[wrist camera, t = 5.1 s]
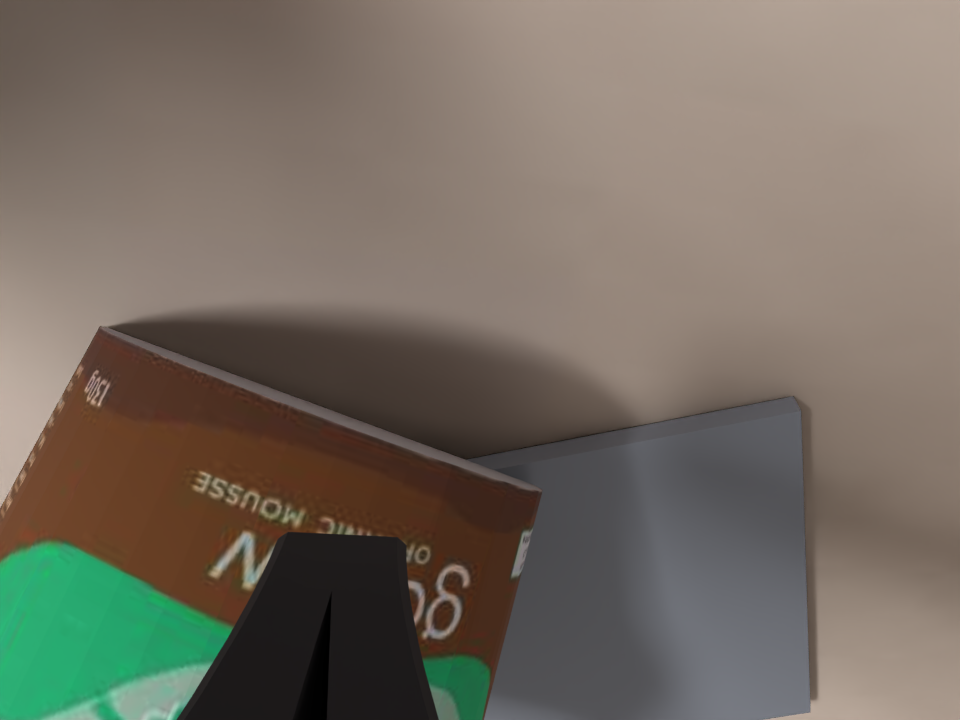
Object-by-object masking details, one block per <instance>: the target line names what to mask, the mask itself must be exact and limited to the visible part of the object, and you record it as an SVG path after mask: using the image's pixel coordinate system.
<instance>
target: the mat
mask: <svg viewBox="0 0 960 720" xmlns="http://www.w3.org/2000/svg"><path fill="white" fill-rule="evenodd" d="M467 460H468V461H470V462H473V463H476V464H478V465H481V466H484V467H487V468H489V469H492V470H495V471H497V472H500V473H503V474H505V475H508V476H511V477H514V478H516V479H519V480H522V481H524V482H527V483H530V484H532V485H534V486H536V487H538V488H540V489H542V490H543V491H542V495H541V499H540V503H539V507H538V511H537V514H536V518H535V522H534V526H533V530H532V534H531V538H530V542H529V546H528V550H527V553H526V557H525V561H524V565H523V569H522V573H521V577H520V581H519V585H518V589H517V592H516V596H515V600H514V604H513V608H512V612H511V616H510V620H509V624H508V627H507V631H506V635H505V639H504V643H503V647H502V651H501V655H500V659H499V663H498V666H497V670H496V674H495V678H494V682H493V686H492V690H491V694H490V698H489V701H488V705H487V709H486V713H485V717H484V720H763V719H770V718H776V717H783V716H789V715H796V714H802V713H809V712H810V682H809V649H808V617H807V585H806V553H805V520H804V488H803V456H802V423H801V410H800V408H799V406H798V404H797V402H796V400H795V398H794V396H793V397H787V398H782V399H777V400H772V401H767V402H762V403H756V404H751V405H746V406H741V407H736V408H731V409H725V410H720V411H715V412H710V413H705V414H700V415H694V416H689V417H684V418H679V419H674V420H669V421H663V422H658V423H653V424H648V425H643V426H638V427H632V428H627V429H622V430H617V431H612V432H607V433H601V434H596V435H591V436H586V437H581V438H576V439H570V440H565V441H560V442H555V443H550V444H545V445H539V446H534V447H529V448H524V449H519V450H514V451H508V452H503V453H498V454H493V455H488V456H483V457H477V458H472V459H467Z"/></svg>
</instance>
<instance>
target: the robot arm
mask: <svg viewBox="0 0 960 720" xmlns="http://www.w3.org/2000/svg"><path fill="white" fill-rule="evenodd" d="M406 551H407V545H406V544H405V543H404V542H403V541H401V540H400V539H399V538H398V537H387V536H366V535H345V534H324V533H303V532H287V533H285V534H284V535H282V536H281V537H280V538H278V540H277V542H276V544H275V547H274V549H273V552H272V554H271V556H270V558H269V561H268V563H267V565H266V567H265V569H264V571H263V573H262V575H261V577H260V579H259V581H258V583H257V585H256V587H255V589H254V591H253V593H252V595H251V597H250V599H249V601H248V602H247V604H246V606H245V608H244V610H243V612H242V613H241V615H240V617H239V619H238V620H237V622H236V624H235V626H234V628H233V629H232V631H231V633H230V635H229V636H228V638H227V640H226V642H225V643H224V645H223V646H222V648H221V650H220V651H219V653H218V655H217V656H216V658H215V659H214V661H213V663H212V664H211V666H210V668H209V669H208V671H207V672H206V674H205V676H204V677H203V679H202V681H201V682H200V684H199V685H198V687H197V689H196V690H195V692H194V694H193V695H192V697H191V698H190V700H189V701H188V703H187V705H186V706H185V708H184V709H183V711H182V712H181V714H180V715H179V717H178V718H177V720H439V718H438V715H437V711H436V708H435V704H434V700H433V697H432V693H431V690H430V686H429V682H428V679H427V675H426V672H425V668H424V664H423V659H422V655H421V651H420V647H419V642H418V637H417V632H416V627H415V622H414V617H413V612H412V606H411V599H410V593H409V585H408V574H407V559H406Z"/></svg>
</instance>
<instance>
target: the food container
mask: <svg viewBox="0 0 960 720" xmlns="http://www.w3.org/2000/svg"><path fill="white" fill-rule="evenodd" d="M542 491H543V490H542V489H540V488H538V487H536V486H534V485H532V484H530V483H527V482H524V481H522V480H519V479H516V478H514V477H511V476H508V475H505V474H503V473H500V472H497V471H495V470H492V469H489V468H487V467H484V466H481V465H478V464H476V463H473V462H470V461H468V460H465V459H462V458H459V457H457V456H454V455H451V454H449V453H446V452H443V451H440V450H438V449H435V448H432V447H430V446H427V445H424V444H421V443H419V442H416V441H413V440H411V439H408V438H405V437H403V436H400V435H397V434H394V433H392V432H389V431H386V430H384V429H381V428H378V427H375V426H373V425H370V424H367V423H365V422H362V421H359V420H356V419H354V418H351V417H348V416H346V415H343V414H340V413H338V412H335V411H332V410H329V409H327V408H324V407H321V406H319V405H316V404H313V403H310V402H308V401H305V400H302V399H300V398H297V397H294V396H291V395H289V394H286V393H283V392H281V391H278V390H275V389H272V388H270V387H267V386H264V385H262V384H259V383H256V382H254V381H251V380H248V379H245V378H243V377H240V376H237V375H235V374H232V373H229V372H226V371H224V370H221V369H218V368H216V367H213V366H210V365H207V364H205V363H202V362H199V361H197V360H194V359H191V358H188V357H186V356H183V355H180V354H178V353H175V352H172V351H170V350H167V349H164V348H161V347H159V346H156V345H153V344H151V343H148V342H145V341H142V340H140V339H137V338H134V337H132V336H129V335H126V334H123V333H121V332H118V331H115V330H113V329H110V328H107V327H102V326H100V327H99V329H98V331H97V333H96V335H95V336H94V338H93V340H92V342H91V344H90V346H89V347H88V349H87V351H86V353H85V355H84V356H83V358H82V360H81V362H80V364H79V366H78V367H77V369H76V371H75V373H74V375H73V377H72V378H71V380H70V382H69V384H68V386H67V387H66V389H65V391H64V393H63V395H62V397H61V398H60V400H59V402H58V404H57V406H56V408H55V409H54V411H53V413H52V415H51V417H50V419H49V420H48V422H47V424H46V426H45V428H44V429H43V431H42V433H41V435H40V437H39V439H38V440H37V442H36V444H35V446H34V448H33V450H32V451H31V453H30V455H29V457H28V459H27V460H26V462H25V464H24V466H23V468H22V470H21V471H20V473H19V475H18V477H17V479H16V481H15V482H14V484H13V486H12V488H11V490H10V492H9V493H8V495H7V497H6V499H5V501H4V502H3V504H2V506H1V508H0V720H177V718H178V717H179V715H180V714H181V712H182V711H183V709H184V708H185V706H186V705H187V703H188V701H189V700H190V698H191V697H192V695H193V694H194V692H195V690H196V689H197V687H198V685H199V684H200V682H201V681H202V679H203V677H204V676H205V674H206V672H207V671H208V669H209V668H210V666H211V664H212V663H213V661H214V659H215V658H216V656H217V655H218V653H219V651H220V650H221V648H222V646H223V645H224V643H225V642H226V640H227V638H228V636H229V635H230V633H231V631H232V629H233V628H234V626H235V624H236V622H237V620H238V619H239V617H240V615H241V613H242V612H243V610H244V608H245V606H246V604H247V602H248V601H249V599H250V597H251V595H252V593H253V591H254V589H255V587H256V585H257V583H258V581H259V579H260V577H261V575H262V573H263V571H264V569H265V567H266V565H267V563H268V561H269V558H270V556H271V554H272V552H273V549H274V547H275V544H276V542H277V540H278V538H280V537H281V536H282V535H284V534H285V533H287V532H303V533H324V534H345V535H366V536H387V537H398V538H399V539H400V540H401V541H403V542H404V543H405V544H406V545H407V551H406V559H407V574H408V585H409V593H410V599H411V606H412V612H413V617H414V622H415V627H416V632H417V637H418V642H419V647H420V651H421V655H422V659H423V664H424V668H425V672H426V675H427V679H428V682H429V686H430V690H431V693H432V697H433V700H434V704H435V708H436V711H437V715H438V718H439V720H484V717H485V713H486V709H487V705H488V701H489V698H490V694H491V690H492V686H493V682H494V678H495V674H496V670H497V666H498V663H499V659H500V655H501V651H502V647H503V643H504V639H505V635H506V631H507V627H508V624H509V620H510V616H511V612H512V608H513V604H514V600H515V596H516V592H517V589H518V585H519V581H520V577H521V573H522V569H523V565H524V561H525V557H526V553H527V550H528V546H529V542H530V538H531V534H532V530H533V526H534V522H535V518H536V514H537V511H538V507H539V503H540V499H541V495H542Z"/></svg>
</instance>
